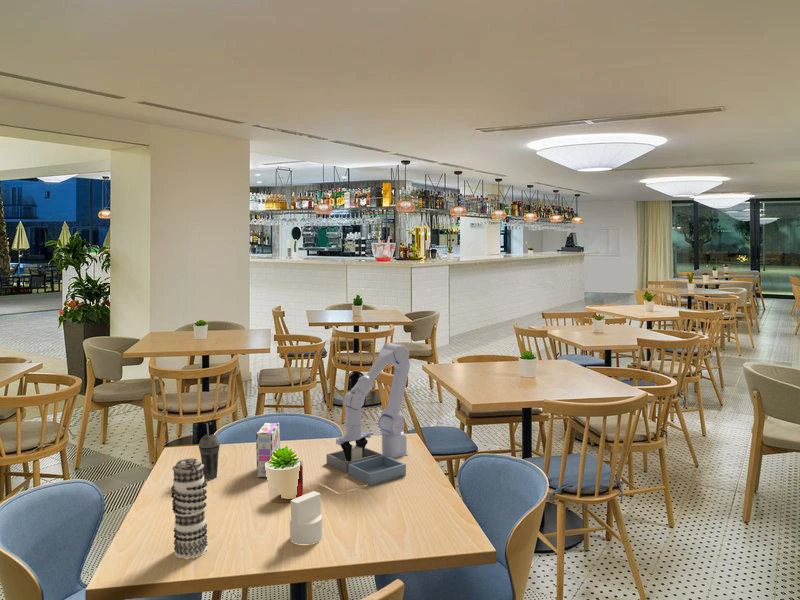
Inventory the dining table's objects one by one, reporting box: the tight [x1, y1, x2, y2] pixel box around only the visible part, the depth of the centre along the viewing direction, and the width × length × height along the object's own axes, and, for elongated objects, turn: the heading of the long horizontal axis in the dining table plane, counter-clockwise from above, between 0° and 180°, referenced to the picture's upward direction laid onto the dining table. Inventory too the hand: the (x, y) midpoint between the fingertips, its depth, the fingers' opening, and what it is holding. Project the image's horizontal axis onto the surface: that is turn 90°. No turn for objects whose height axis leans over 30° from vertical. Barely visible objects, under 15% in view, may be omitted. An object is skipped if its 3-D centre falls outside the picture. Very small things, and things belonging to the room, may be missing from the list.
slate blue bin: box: [347, 455, 407, 487], centre depth 227 cm, size 16×13×4 cm
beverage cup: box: [198, 422, 221, 480], centre depth 225 cm, size 7×7×20 cm
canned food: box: [296, 459, 304, 498], centre depth 209 cm, size 8×8×11 cm
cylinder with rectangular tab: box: [289, 490, 323, 545], centre depth 178 cm, size 9×9×12 cm
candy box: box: [255, 422, 281, 479], centre depth 231 cm, size 14×6×16 cm, turn 179°
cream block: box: [346, 444, 362, 462], centre depth 238 cm, size 4×4×6 cm
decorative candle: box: [170, 457, 208, 559], centre depth 170 cm, size 9×9×25 cm
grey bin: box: [326, 447, 381, 474], centre depth 238 cm, size 16×13×4 cm
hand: (353, 459), depth 238 cm, fingers closed on cream block, 4 cm apart
